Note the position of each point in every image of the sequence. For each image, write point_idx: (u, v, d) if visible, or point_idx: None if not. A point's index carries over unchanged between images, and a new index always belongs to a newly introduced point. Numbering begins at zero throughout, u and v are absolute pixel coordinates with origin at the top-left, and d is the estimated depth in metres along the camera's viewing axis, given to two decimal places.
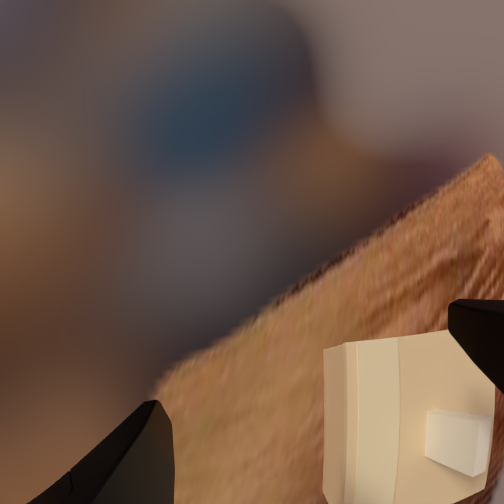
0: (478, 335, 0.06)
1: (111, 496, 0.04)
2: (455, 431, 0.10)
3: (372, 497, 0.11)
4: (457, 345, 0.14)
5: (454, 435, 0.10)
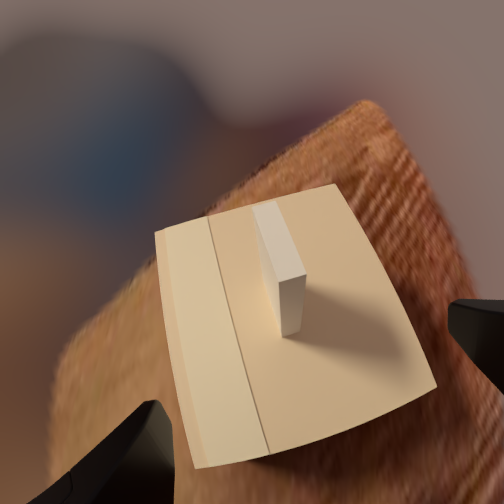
0: (478, 335, 0.06)
1: (111, 496, 0.04)
2: (262, 257, 0.11)
3: (218, 402, 0.11)
4: (287, 210, 0.16)
5: (263, 262, 0.11)
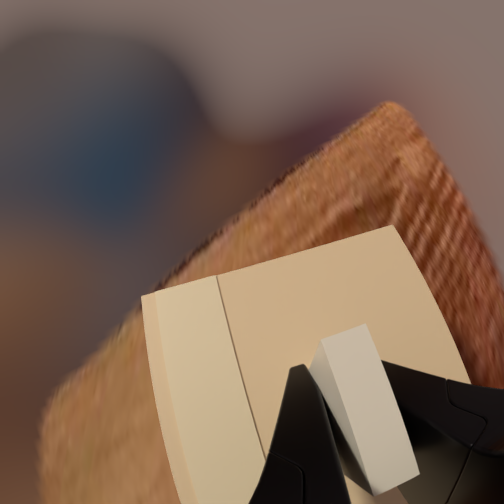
0: None
1: None
2: (321, 394, 0.06)
3: None
4: (333, 267, 0.11)
5: None
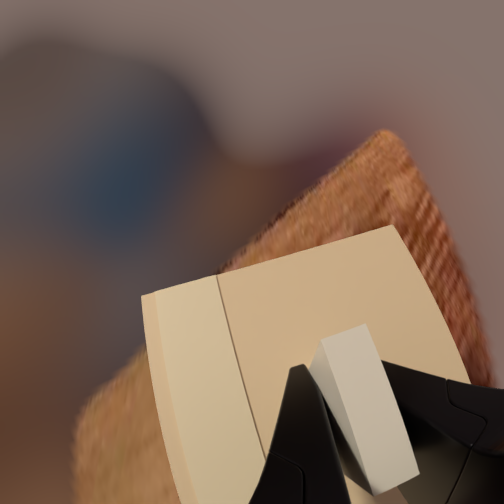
0: None
1: None
2: (321, 394, 0.06)
3: None
4: (333, 267, 0.11)
5: None
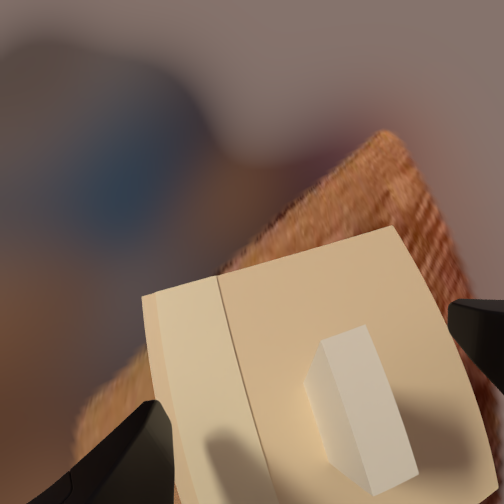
0: (478, 335, 0.06)
1: (111, 496, 0.04)
2: (321, 395, 0.06)
3: None
4: (333, 268, 0.11)
5: (323, 404, 0.06)
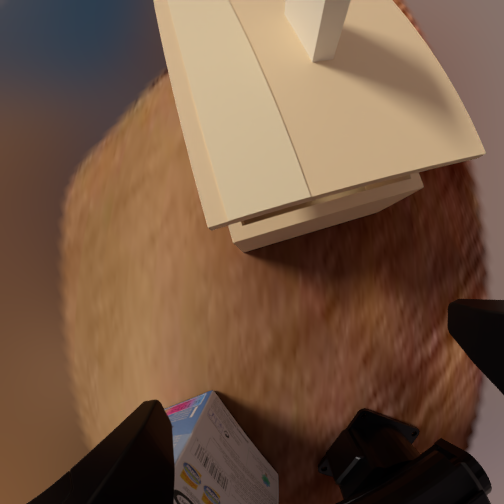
0: (478, 335, 0.06)
1: (111, 496, 0.04)
2: None
3: (239, 129, 0.09)
4: None
5: None
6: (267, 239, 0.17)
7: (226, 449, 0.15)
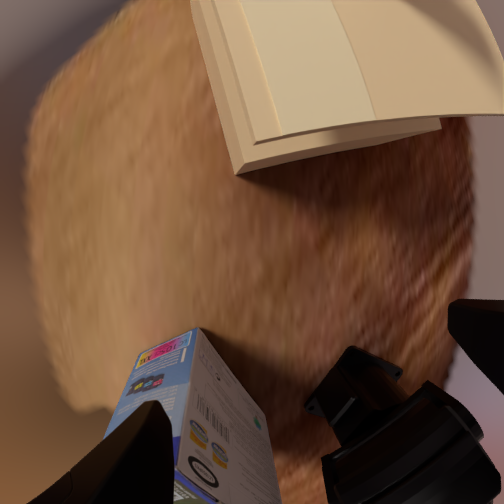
0: (478, 335, 0.06)
1: (111, 496, 0.04)
2: None
3: (295, 31, 0.06)
4: None
5: None
6: (271, 162, 0.14)
7: (220, 394, 0.16)
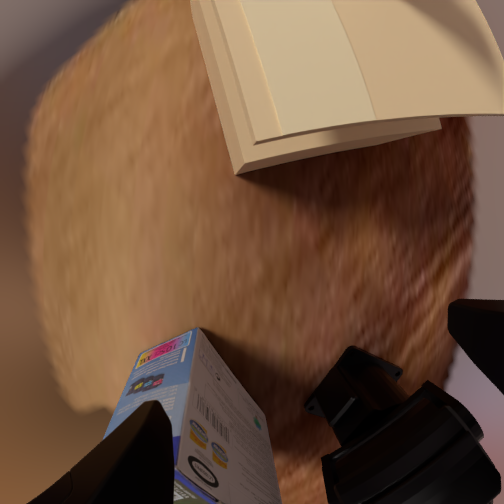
0: (478, 335, 0.06)
1: (111, 495, 0.04)
2: None
3: (295, 31, 0.06)
4: None
5: None
6: (271, 161, 0.14)
7: (220, 394, 0.16)
